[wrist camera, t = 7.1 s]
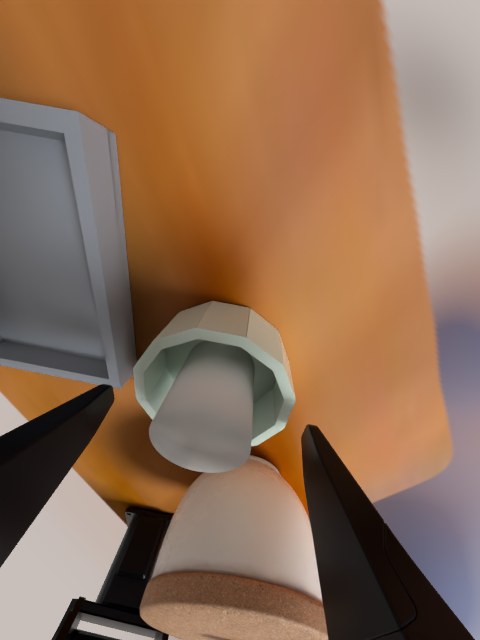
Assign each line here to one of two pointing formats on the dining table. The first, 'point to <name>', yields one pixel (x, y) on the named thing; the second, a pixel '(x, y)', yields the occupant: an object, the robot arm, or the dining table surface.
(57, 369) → the parts tray
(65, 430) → the robot arm
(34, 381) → the dining table surface
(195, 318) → the bowl
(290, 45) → the dining table surface
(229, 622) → the lidded jar
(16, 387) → the dining table surface
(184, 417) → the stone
